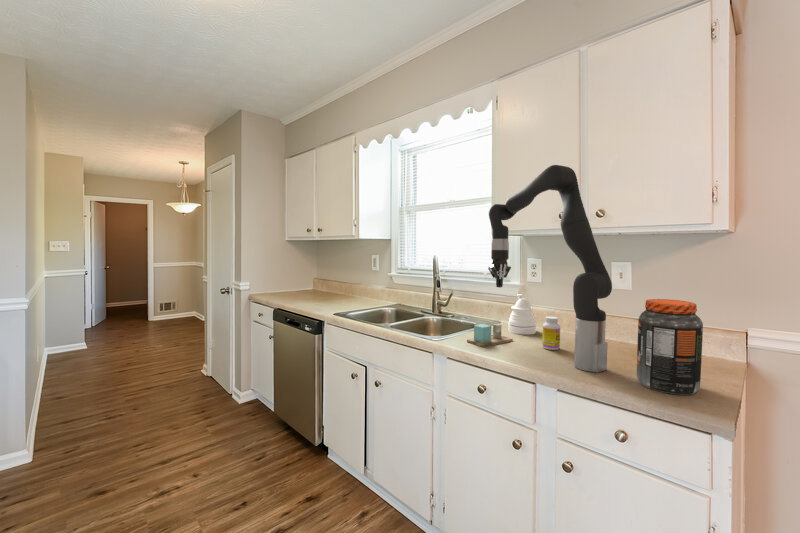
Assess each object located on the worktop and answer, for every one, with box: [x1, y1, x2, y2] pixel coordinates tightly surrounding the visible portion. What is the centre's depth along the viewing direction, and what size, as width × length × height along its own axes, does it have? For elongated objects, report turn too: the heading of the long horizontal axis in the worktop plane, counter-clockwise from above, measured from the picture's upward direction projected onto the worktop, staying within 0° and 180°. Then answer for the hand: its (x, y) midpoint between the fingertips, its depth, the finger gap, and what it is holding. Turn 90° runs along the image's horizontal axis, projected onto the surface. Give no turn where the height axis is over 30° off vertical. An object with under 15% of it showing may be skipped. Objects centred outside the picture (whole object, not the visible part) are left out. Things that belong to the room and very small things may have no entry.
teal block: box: [473, 323, 492, 343], centre depth 160 cm, size 5×5×7 cm
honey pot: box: [507, 293, 537, 335], centre depth 181 cm, size 13×13×18 cm
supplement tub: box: [636, 298, 704, 396], centre depth 111 cm, size 16×16×26 cm
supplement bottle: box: [541, 315, 561, 351], centre depth 152 cm, size 7×7×13 cm
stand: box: [466, 323, 514, 348], centre depth 162 cm, size 10×18×7 cm, turn 123°
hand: (499, 287), depth 167 cm, fingers closed
